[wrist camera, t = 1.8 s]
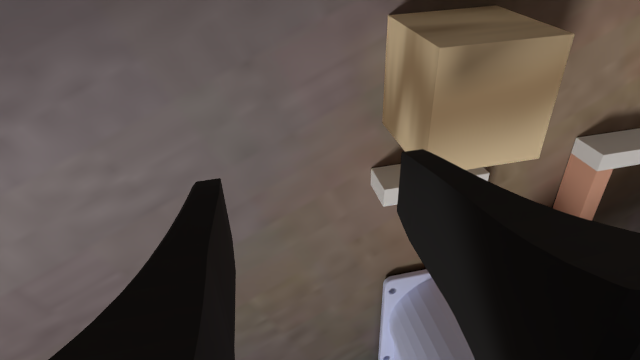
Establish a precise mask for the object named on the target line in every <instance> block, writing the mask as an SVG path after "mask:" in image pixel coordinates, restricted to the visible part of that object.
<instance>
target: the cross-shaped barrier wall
mask: <svg viewBox="0 0 640 360" xmlns="http://www.w3.org/2000/svg"><path fill="white" fill-rule="evenodd" d="M638 164H640V128H638V129H631V130H625V131H618V132H611V133H604V134H598V135H591V136H584V137H578V138H576V140H575V143H574V146H573V149H572V152H571V155H570V158H569V161H568V164H567V167H566V170H565V173H564V176H563V179H562V182H561V185H560V188H559V191H558V194H557V197H556V199H555V202H554V205H553V209H556V210H559V211H561V212H564V213H568V214H571V215H574V216H577V217H580V218H584V219H587V220H591V221H592V219H593V217H594V214H595V212H596V210H597V207H598V205H599V202H600V200H601V197H602V195H603V193H604V190H605V188H606V185H607V183H608V180H609V178H610V175H611V173H612V171H613V169H614V168H620V167H626V166H632V165H638ZM400 167H401V164H397V165H390V166H383V167H377V168H371V186H372V188H373V189H374V191H375V193H376V195H377V196H378V198H379V200H380V202H381V203H382V205H383V207H384V206H390V205H396V204H397V203H398V191H399V179H400ZM466 171H468V172H470V173H472V174H474V175H476V176H478V177H480V178H482V179H484V180H486V181H488V178H489V174H490V173H489V172H488V171H487V170H486V169H485V168H484V167H481V168H475V169H468V170H466Z"/></svg>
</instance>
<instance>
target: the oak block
mask: <svg viewBox="0 0 640 360" xmlns="http://www.w3.org/2000/svg"><path fill="white" fill-rule="evenodd" d="M574 35H575V34H574V33H571V32H568V31H565V30H563V29H560V28H557V27H554V26H552V25H549V24H546V23H543V22H541V21H538V20H535V19H532V18H530V17H527V16H524V15H521V14H519V13H516V12H513V11H510V10H508V9H505V8H502V7H499V6H497V5H495V6H484V7H473V8H462V9H451V10H440V11H429V12H418V13H407V14H395V15H388V26H387V45H386V64H385V83H384V103H383V122H382V123H383V124H384V125H385V127H386V128H387V129H388V130H389V132H390V133H391V134H392V136H393V137H394V138H395V139H396V141H397V142H398V143H399V144H400V146H401V147H402V148H403V150H404V151H405V152H406V151H412V150H419V149H424V150H426V151H429V152H431V153H433V154H435V155H437V156H439V157H441V158H443V159H445V160H447V161H449V162H451V163H453V164H455V165H457V166H459V167H461V168H462V169H464V170H468V169H475V168H481V167H487V166H494V165H500V164H507V163H513V162H520V161H526V160H532V159H539V156H540V153H541V149H542V146H543V142H544V139H545V135H546V132H547V128H548V125H549V121H550V118H551V114H552V111H553V108H554V104H555V101H556V97H557V94H558V90H559V87H560V83H561V80H562V76H563V73H564V69H565V66H566V62H567V59H568V55H569V52H570V49H571V45H572V42H573V38H574Z"/></svg>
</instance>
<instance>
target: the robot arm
mask: <svg viewBox="0 0 640 360" xmlns="http://www.w3.org/2000/svg"><path fill="white" fill-rule="evenodd" d="M397 212H398V215H399V217H400V220H401V222H402V225H403V227H404V229H405V232H406V234H407V236H408V238H409V240H410V242H411V244H412V246H413V247H414V249H415V251H416V252H417V254H418V256H419V257H420V259H421V261H422V262H423V264H424V266H425V267H426V269H425V270H420V271H415V272H409V273H404V274H399V275H394V276H390V277H388V278H386V279H385V280H384V283H383V297H382V311H381V326H380V340H379V355H378V360H640V233H637V232H633V231H629V230H625V229H620V228H616V227H612V226H608V225H605V224H601V223H598V222H594V221H591V220H587V219H584V218H580V217H577V216H574V215H571V214H568V213H564V212H561V211H559V210H556V209H553V208H550V207H548V206H545V205H542V204H539V203H536V202H534V201H531V200H529V199H526V198H524V197H521V196H519V195H517V194H515V193H512V192H510V191H508V190H506V189H503V188H501V187H499V186H497V185H495V184H493V183H490V182H488V181H486V180H484V179H482V178H480V177H478V176H476V175H474V174H472V173H470V172H468V171H466V170H464V169H462V168H461V167H459V166H457V165H455V164H453V163H451V162H449V161H447V160H445V159H443V158H441V157H439V156H437V155H435V154H433V153H431V152H429V151H426V150H424V149H419V150H412V151H406V152H402V155H401V167H400V179H399V191H398V203H397ZM235 279H236V270H235V260H234V251H233V241H232V235H231V230H230V225H229V220H228V214H227V209H226V204H225V199H224V194H223V189H222V184H221V179H220V178H219V179H212V180H205V181H198V182H196V183H195V184H194V185H193V187H192V189H191V191H190V193H189V195H188V197H187V199H186V201H185V203H184V205H183V207H182V209H181V210H180V212H179V214H178V216H177V217H176V219H175V221H174V222H173V224H172V226H171V227H170V229H169V231H168V232H167V234H166V235H165V237H164V238H163V240H162V241H161V243H160V244H159V246H158V247H157V248H156V250H155V251H154V253H153V254H152V256H151V257H150V258H149V260H148V261H147V262H146V264H145V265H144V266H143V268H142V269H141V270H140V271H139V273H138V274H137V275H136V276H135V277H134V279H133V280H132V281H131V282H130V283H129V284H128V286H127V287H126V288H125V289H124V290H123V291H122V292H121V293H120V295H119V296H118V297H117V298H116V299H115V300H114V301H113V302H112V303H111V304H110V305H109V306H108V307H107V308H106V309H105V310H104V311H103V312H102V313H101V314H100V315H99V316H98V317H97V318H96V319H95V320H94V321H93V322H92V323H91V324H89V325H88V326H87V327H86V328H85V329H84V330H83V331H82V332H81V333H79V334H78V335H77V336H76V337H75V338H74V339H73V340H71V341H70V342H69V343H68V344H67V345H66V346H64V347H63V348H62V349H61V350H60V351H58V352H57V353H56V354H55V355H54V356H52V357H51V358H50V359H49V360H235V354H234V336H235Z"/></svg>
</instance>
